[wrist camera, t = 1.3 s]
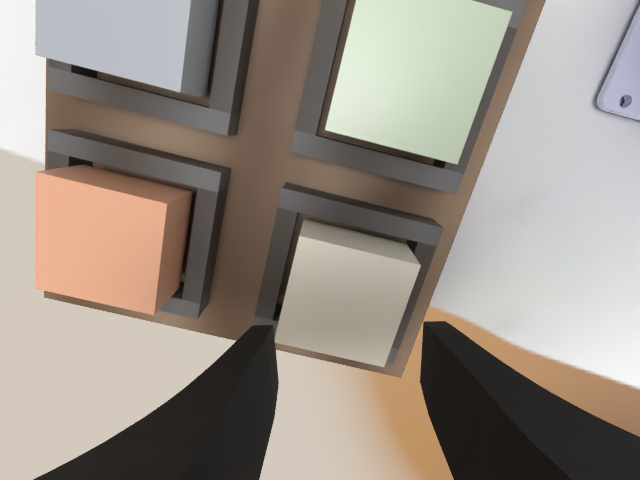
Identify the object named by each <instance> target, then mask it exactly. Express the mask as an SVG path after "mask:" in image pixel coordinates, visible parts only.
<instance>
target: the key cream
mask: <svg viewBox="0 0 640 480" xmlns="http://www.w3.org/2000/svg"><path fill="white" fill-rule="evenodd" d="M420 267H421V265H420V263H419V262H418V260H417V259H416V257H415V256H414V254H413V253H412V251H411V250H410V248H409V247H408V245H407V244H405V243H401V242H397V241H392V240H388V239H384V238H380V237H376V236H372V235H368V234H364V233H360V232H356V231H352V230H348V229H344V228H340V227H336V226H331V225H327V224H323V223H319V222H315V221H311V220H307V219H304V220H303V224H302V228H301V231H300V235H299V239H298V243H297V248H296V252H295V256H294V260H293V264H292V268H291V272H290V277H289V281H288V285H287V289H286V293H285V297H284V302H283V306H282V310H281V314H280V318H279V322H278V326H277V331H276V335H275V343H279V344H283V345H287V346H292V347H296V348H301V349H305V350H310V351H314V352H318V353H323V354H327V355H332V356H336V357H340V358H345V359H349V360H354V361H358V362H363V363H367V364H371V365H376V366H380V367H384V366H385V364H386V361H387V358H388V355H389V353H390V350H391V347H392V344H393V341H394V339H395V336H396V333H397V330H398V328H399V325H400V322H401V319H402V317H403V314H404V311H405V308H406V305H407V303H408V300H409V297H410V294H411V292H412V289H413V286H414V283H415V281H416V278H417V275H418V272H419V270H420Z"/></svg>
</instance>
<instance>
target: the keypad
mask: <svg viewBox="0 0 640 480" xmlns="http://www.w3.org/2000/svg"><path fill="white" fill-rule="evenodd" d="M473 1H476V2H480V3H483V4H487V5H490V6H494V7H497V8H501V9H504V10H508V11H511V12H512V15H511V18H510V21H509V23H508V26H507V29H506V32H505V34H504V37H503V40H502V43H501V45H500V48H499V51H498V54H497V57H496V59H495V62H494V65H493V68H492V70H491V73H490V76H489V79H488V81H487V84H486V87H485V90H484V92H483V95H482V98H481V101H480V104H479V106H478V109H477V112H476V115H475V117H474V120H473V123H472V126H471V128H470V131H469V134H468V137H467V140H466V142H465V145H464V148H463V151H462V153H461V156H460V159H459V162H458V164H453V163H450V162H446V161H442V160H438V159H434V158H430V157H427V156H423V155H419V154H415V153H411V152H407V151H403V150H400V149H396V148H392V147H388V146H384V145H380V144H377V143H373V142H369V141H365V140H361V139H357V138H353V137H350V136H346V135H342V134H338V133H334V132H330V131H327V130H325V127H326V123H327V119H328V115H329V111H330V106H331V102H332V98H333V94H334V90H335V86H336V81H337V77H338V73H339V69H340V65H341V61H342V57H343V52H344V48H345V44H346V40H347V36H348V32H349V28H350V23H351V19H352V15H353V11H354V7H355V3H356V0H219V6H218V13H217V20H216V28H215V35H214V42H213V49H212V57H211V64H210V71H209V78H208V86H207V93H206V98H202V97H198V96H193V95H189V94H185V93H180V92H177V91H173V90H169V89H165V88H161V87H157V86H153V85H150V84H146V83H142V82H138V81H134V80H130V79H127V78H123V77H119V76H115V75H111V74H107V73H104V72H100V71H96V70H92V69H88V68H84V67H80V66H77V65H73V64H69V63H65V62H61V61H57V60H54V59H50V58H46V152H45V170H51V169H57V168H64V167H70V166H76V165H87V166H91V167H95V168H100V169H104V170H108V171H112V172H116V173H120V174H124V175H128V176H132V177H136V178H140V179H144V180H148V181H152V182H156V183H161V184H165V185H169V186H173V187H177V188H181V189H185V190H189V191H193V194H192V201H191V209H190V216H189V223H188V230H187V237H186V245H185V252H184V259H183V266H182V274H181V281H180V288H179V289H178V290H177V291H176V292H175V293H174V294H173V295H172V297H171V298H170V299H169V300H168V301H167V302H166V303H165V304H164V305H163V306H162V307H161V308H160V310H159V311H158V312H157V313H156V314H155V315H150V314H146V313H141V312H137V311H133V310H128V309H124V308H119V307H115V306H110V305H106V304H102V303H97V302H93V301H88V300H84V299H79V298H75V297H71V296H66V295H62V294H57V293H53V292H49V291H44V297H45V298H49V299H54V300H58V301H63V302H67V303H72V304H76V305H80V306H85V307H89V308H94V309H98V310H103V311H107V312H112V313H116V314H120V315H125V316H129V317H134V318H138V319H143V320H147V321H151V322H156V323H161V324H165V325H170V326H174V327H178V328H183V329H188V330H192V331H196V332H200V333H205V334H209V335H214V336H218V337H223V338H227V339H232V340H236V341H237V340H238V339H239V338H240V337H241V336H242V335H243V334H244V333H245V332H246V331H247V330H248V329H249V328H250V327H251V326H253V325H273V326H274V338H275V335H276V331H277V326H278V322H279V318H280V314H281V310H282V306H283V302H284V297H285V293H286V289H287V285H288V281H289V277H290V272H291V268H292V264H293V260H294V256H295V252H296V248H297V243H298V239H299V235H300V231H301V228H302V224H303V220H304V219H307V220H311V221H315V222H319V223H323V224H327V225H331V226H336V227H340V228H344V229H348V230H352V231H356V232H360V233H364V234H368V235H372V236H376V237H380V238H384V239H388V240H392V241H397V242H401V243H405V244H407V245H408V247H409V248H410V250H411V251H412V253H413V254H414V256H415V257H416V259H417V260H418V262H419V263H420V265H421V267H420V270H419V272H418V275H417V278H416V281H415V283H414V286H413V289H412V292H411V294H410V297H409V300H408V303H407V305H406V308H405V311H404V314H403V317H402V319H401V322H400V325H399V328H398V330H397V333H396V336H395V339H394V341H393V344H392V347H391V350H390V353H389V355H388V358H387V361H386V364H385V366H384V367H380V366H376V365H371V364H367V363H363V362H358V361H354V360H349V359H345V358H340V357H336V356H332V355H327V354H323V353H318V352H314V351H310V350H305V349H301V348H296V347H292V346H287V345H283V344H279V343H275V349H276V350H280V351H285V352H289V353H294V354H298V355H303V356H307V357H311V358H316V359H320V360H325V361H329V362H334V363H338V364H343V365H347V366H352V367H356V368H360V369H365V370H369V371H374V372H378V373H383V374H387V375H392V376H396V377H401V376H402V374H403V371H404V369H405V366H406V363H407V361H408V358H409V355H410V353H411V350H412V348H413V345H414V343H415V340H416V337H417V335H418V332H419V329H420V327H421V324H422V321H423V319H424V316H425V314H426V311H427V309H428V306H429V303H430V301H431V298H432V296H433V293H434V290H435V288H436V285H437V282H438V280H439V277H440V275H441V272H442V269H443V267H444V264H445V262H446V259H447V256H448V254H449V251H450V249H451V246H452V243H453V241H454V238H455V236H456V233H457V230H458V228H459V225H460V222H461V220H462V217H463V215H464V212H465V209H466V207H467V204H468V202H469V199H470V196H471V194H472V191H473V189H474V186H475V183H476V181H477V178H478V175H479V173H480V170H481V168H482V165H483V162H484V160H485V157H486V155H487V152H488V149H489V147H490V144H491V142H492V139H493V136H494V134H495V131H496V128H497V126H498V123H499V121H500V118H501V115H502V113H503V110H504V108H505V105H506V102H507V100H508V97H509V95H510V92H511V89H512V87H513V84H514V81H515V79H516V76H517V74H518V71H519V68H520V66H521V63H522V61H523V58H524V55H525V53H526V50H527V48H528V45H529V42H530V40H531V37H532V35H533V32H534V29H535V27H536V24H537V21H538V19H539V16H540V14H541V11H542V8H543V6H544V3H545V1H546V0H473Z"/></svg>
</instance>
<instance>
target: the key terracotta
mask: <svg viewBox="0 0 640 480" xmlns="http://www.w3.org/2000/svg"><path fill="white" fill-rule="evenodd" d="M192 194H193V191H189V190H185V189H181V188H177V187H173V186H169V185H165V184H161V183H156V182H152V181H148V180H144V179H140V178H136V177H132V176H128V175H124V174H120V173H116V172H112V171H108V170H104V169H100V168H95V167H91V166H87V165H76V166H70V167H64V168H57V169H51V170H44V171H38V172H36V289H40V290H44V291H49V292H53V293H57V294H62V295H66V296H71V297H75V298H79V299H84V300H88V301H93V302H97V303H102V304H106V305H110V306H115V307H119V308H124V309H128V310H133V311H137V312H141V313H146V314H150V315H155V314H156V313H157V312H158V311H159V310H160V308H161V307H162V306H163V305H164V304H165V303H166V302H167V301H168V300H169V299H170V298H171V297H172V295H173V294H174V293H175V292H176V291H177V290H178V289H179V288H180V281H181V274H182V266H183V259H184V252H185V245H186V237H187V230H188V223H189V216H190V209H191V201H192Z"/></svg>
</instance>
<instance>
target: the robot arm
mask: <svg viewBox="0 0 640 480" xmlns="http://www.w3.org/2000/svg"><path fill="white" fill-rule="evenodd" d="M622 96H623V97H624V99H625V102H624V104H623V106H622V107H621V106H620V104H619V101H620V99H621V97H622ZM597 105H598V107H599V108H600V109H601V110H603V111H606V112H610V113H614V114H617V115H621V116H625V117H628V118H632V119H636V120H639V121H640V5H639V7H638V9H637V12H636V14H635V16H634V18H633V20H632V23H631V25H630V27H629V29H628V31H627V34H626V36H625V38H624V40H623V42H622V45H621V47H620V49H619V51H618V53H617V56H616V58H615V60H614V62H613V64H612V66H611V69H610V71H609V73H608V75H607V77H606V80H605V82H604V84H603V86H602V88H601V91H600V93H599V95H598V98H597ZM420 383H421V387H422V390H423V395H424V399H425V403H426V406H427V410H428V414H429V417H430V419H431V422H432V425H433V427H434V430H435V433H436V435H437V438H438V440H439V443H440V445H441V448H442V451H443V453H444V455H445V458H446V461H447V463H448V466H449V468H450V471H451V473H452V476H453V478H454V480H640V437H638V436H636V435H634V434H632V433H630V432H627V431H625V430H623V429H621V428H619V427H617V426H615V425H612V424H610V423H608V422H606V421H604V420H602V419H600V418H598V417H596V416H594V415H592V414H590V413H588V412H586V411H584V410H582V409H580V408H578V407H577V406H575V405H573V404H571V403H569V402H567V401H565V400H563V399H562V398H560V397H558V396H556V395H554V394H553V393H551V392H549V391H548V390H546V389H544V388H542V387H541V386H539V385H537V384H536V383H534V382H533V381H531V380H529V379H528V378H526V377H524V376H523V375H521V374H520V373H518V372H517V371H515V370H514V369H512V368H511V367H509V366H508V365H506V364H504V363H503V362H502V361H500V360H499V359H497V358H496V357H495V356H493V355H492V354H490V353H489V352H487V351H486V350H484V349H483V348H482V347H481V346H479V345H478V344H476V343H475V342H473V341H472V340H471V339H470V338H468V337H467V336H466V335H464V334H463V333H461V332H460V331H458V330H457V329H456V328H454V327H453V326H452V325H450V324H449V323H447V322H445V321H437V322H424V324H423V342H422V360H421V377H420ZM278 384H279V383H278V372H277V360H276V349H275V338H274V326H273V325H253V326H251V327H250V328H249V329H248V330H247V331H246V332H245V333H244V334H243V335H242V336H241V337H240V338H239V339H238V340H237V341H236V342H235V343H234V344H233V345H232V346H231V347H230V348H229V349H228V350H227V351H226V352H225V353H224V354H223V355H222V356H221V357H220V358H219V359H217V361H215V362H214V363H213V364H212V365H211V366H210V367H209V368H208V369H206V370H205V371H204V372H203V373H202V374H201V375H200V376H198V377H197V378H196V379H195V380H194V381H192V382H191V383H190V384H189V385H188V386H187V387H185V388H184V389H183V390H182V391H180V392H179V393H178V394H176V395H175V396H174V397H172V398H171V399H170V400H168V401H167V402H166V403H165V404H163V405H161V406H160V407H158V408H157V409H156V410H154V411H153V412H151V413H150V414H149V415H147V416H146V417H144V418H143V419H141V420H139V421H138V422H136V423H134V424H133V425H131V426H130V427H128V428H126V429H125V430H123V431H121V432H120V433H118V434H117V435H115V436H114V437H112V438H110V439H109V440H107V441H106V442H104V443H102V444H100V445H98V446H97V447H95V448H93V449H91V450H89V451H88V452H86V453H84V454H82V455H80V456H78V457H77V458H75V459H73V460H71V461H69V462H67V463H65V464H63V465H61V466H59V467H57V468H56V469H54V470H52V471H50V472H48V473H46V474H44V475H42V476H40V477H38V478H36V479H34V480H259V478H260V473H261V469H262V466H263V461H264V457H265V453H266V450H267V445H268V441H269V437H270V433H271V429H272V425H273V421H274V415H275V408H276V401H277V392H278Z"/></svg>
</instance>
